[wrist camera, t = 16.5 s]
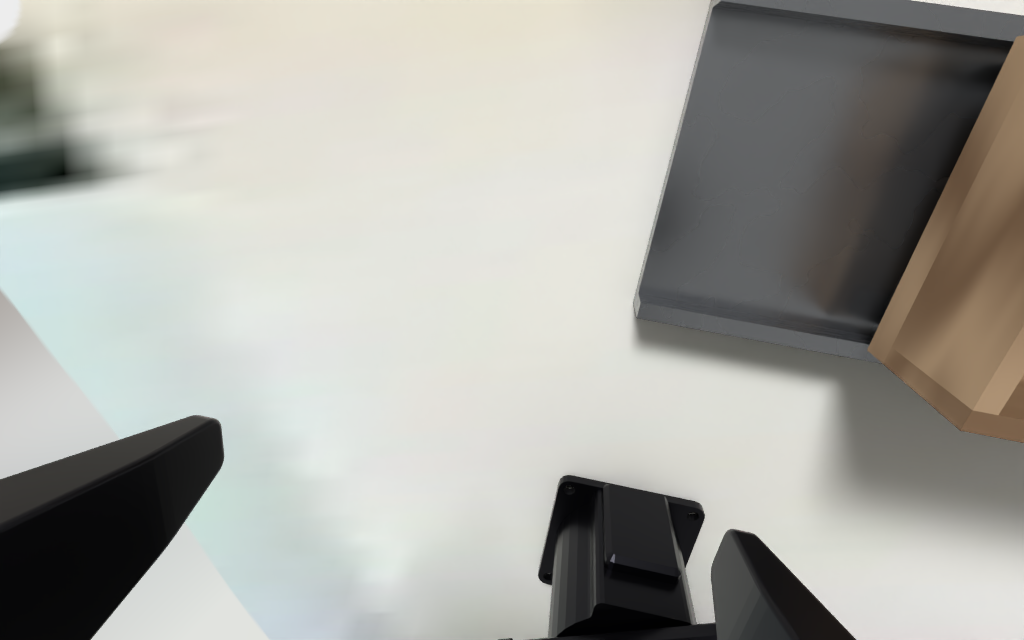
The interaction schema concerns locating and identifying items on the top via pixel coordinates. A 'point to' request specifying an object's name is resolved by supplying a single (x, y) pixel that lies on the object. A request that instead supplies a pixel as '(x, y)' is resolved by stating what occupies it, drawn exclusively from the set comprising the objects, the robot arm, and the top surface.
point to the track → (813, 163)
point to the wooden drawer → (970, 279)
